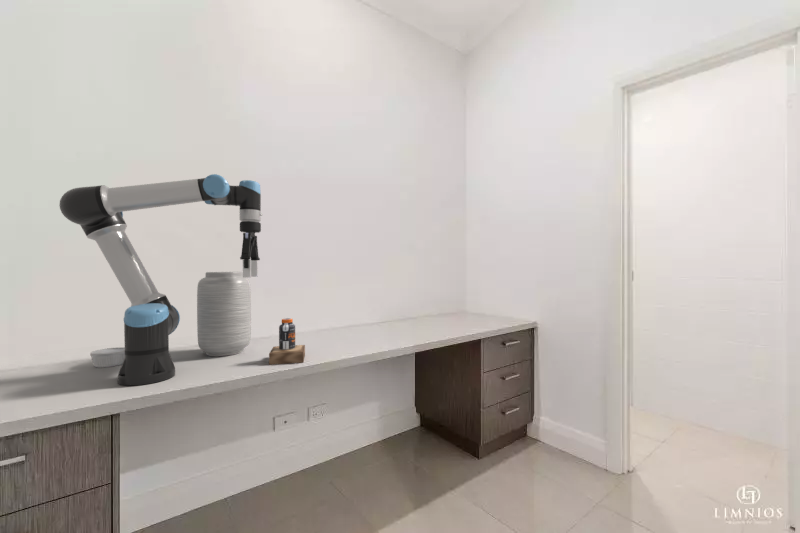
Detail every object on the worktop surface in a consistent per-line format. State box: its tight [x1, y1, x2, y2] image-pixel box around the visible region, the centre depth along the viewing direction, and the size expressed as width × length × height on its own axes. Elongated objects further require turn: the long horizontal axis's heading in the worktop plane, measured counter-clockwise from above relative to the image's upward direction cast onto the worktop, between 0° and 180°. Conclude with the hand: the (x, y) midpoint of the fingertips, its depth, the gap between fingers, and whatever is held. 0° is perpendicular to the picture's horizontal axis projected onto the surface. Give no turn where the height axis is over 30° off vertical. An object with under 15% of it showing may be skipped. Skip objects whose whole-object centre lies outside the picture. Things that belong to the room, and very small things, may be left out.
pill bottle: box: [278, 317, 296, 350], centre depth 140 cm, size 6×6×11 cm
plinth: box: [268, 344, 306, 365], centre depth 140 cm, size 12×12×4 cm
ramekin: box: [89, 346, 125, 369], centre depth 135 cm, size 11×11×5 cm
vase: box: [196, 271, 252, 357], centre depth 153 cm, size 20×20×34 cm
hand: (250, 277), depth 141 cm, fingers open, 13 cm apart
